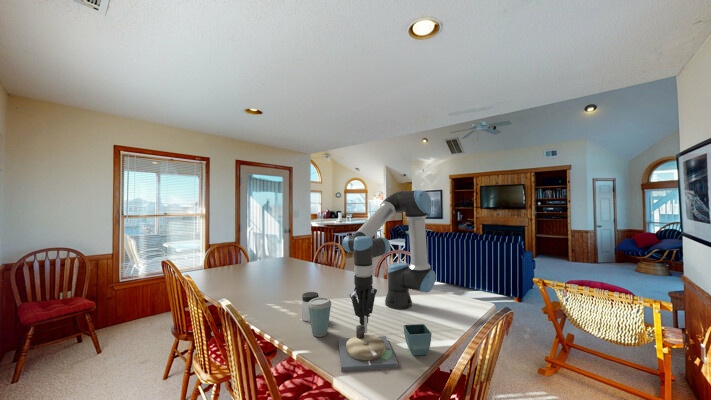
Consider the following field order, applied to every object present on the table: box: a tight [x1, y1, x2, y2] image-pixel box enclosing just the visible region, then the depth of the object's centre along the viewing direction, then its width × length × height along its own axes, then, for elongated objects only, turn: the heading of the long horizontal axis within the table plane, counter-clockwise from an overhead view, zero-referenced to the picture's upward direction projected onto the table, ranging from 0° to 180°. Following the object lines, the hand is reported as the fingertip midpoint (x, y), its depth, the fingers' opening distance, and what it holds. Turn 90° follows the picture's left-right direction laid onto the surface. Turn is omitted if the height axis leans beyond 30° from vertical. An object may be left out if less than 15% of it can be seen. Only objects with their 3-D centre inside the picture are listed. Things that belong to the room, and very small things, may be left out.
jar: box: [301, 291, 320, 323], centre depth 139 cm, size 9×8×12 cm
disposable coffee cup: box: [308, 296, 332, 338], centre depth 122 cm, size 11×11×15 cm
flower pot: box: [403, 323, 433, 356], centre depth 107 cm, size 9×9×9 cm
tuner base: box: [338, 335, 399, 372], centre depth 105 cm, size 20×20×2 cm
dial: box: [346, 324, 385, 360], centre depth 105 cm, size 17×15×6 cm
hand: (364, 331), depth 113 cm, fingers closed
